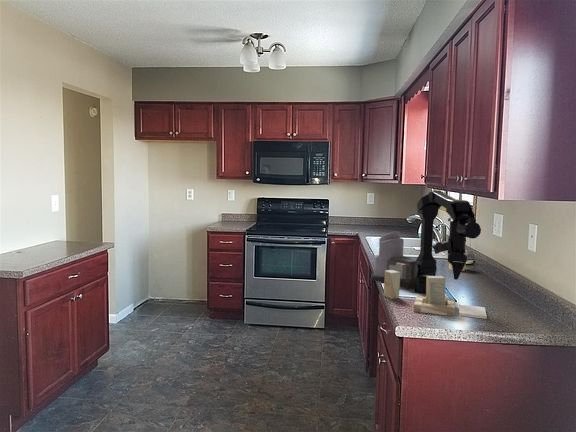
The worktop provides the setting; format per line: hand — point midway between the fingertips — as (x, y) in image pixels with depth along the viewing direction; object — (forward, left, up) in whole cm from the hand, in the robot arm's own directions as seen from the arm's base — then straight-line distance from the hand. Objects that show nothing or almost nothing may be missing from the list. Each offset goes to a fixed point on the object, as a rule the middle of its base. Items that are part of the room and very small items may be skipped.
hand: (455, 276), depth 164 cm
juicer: (-38, -26, -13) cm, 48 cm away
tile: (0, +6, -13) cm, 14 cm away
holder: (0, -7, -13) cm, 14 cm away
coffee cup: (-80, +1, -13) cm, 81 cm away
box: (-10, -24, -13) cm, 29 cm away
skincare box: (0, -7, -13) cm, 15 cm away
